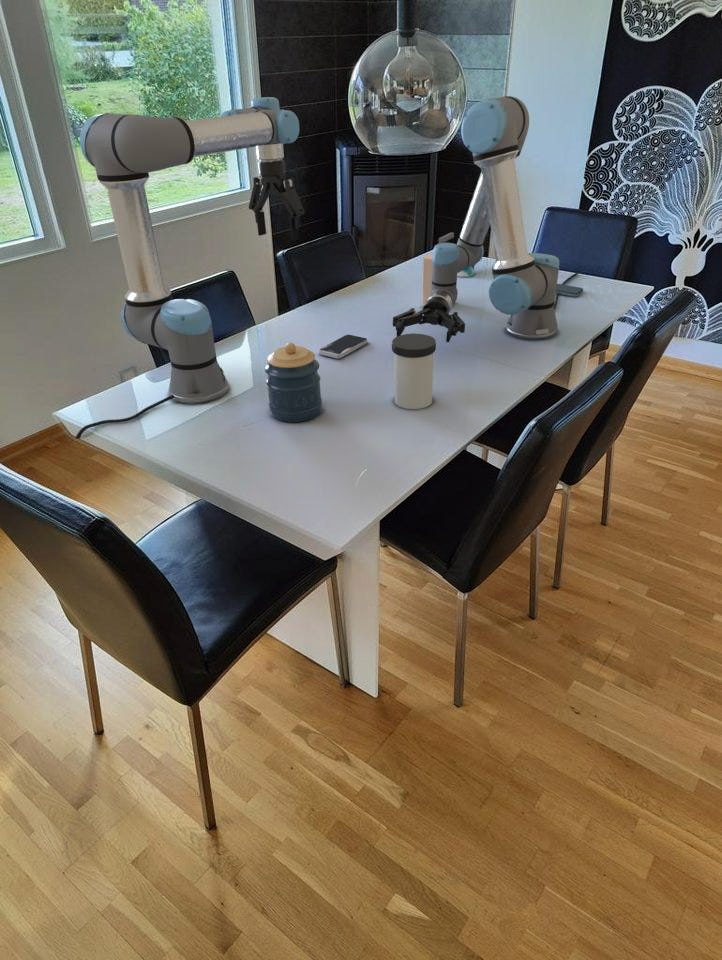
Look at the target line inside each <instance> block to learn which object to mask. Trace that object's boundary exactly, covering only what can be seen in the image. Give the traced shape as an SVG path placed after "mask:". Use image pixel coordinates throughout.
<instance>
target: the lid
mask: <svg viewBox="0 0 722 960" xmlns="http://www.w3.org/2000/svg"><path fill="white" fill-rule="evenodd" d="M436 350H437V341H436V339H435V338H434V337H433V336H431V335H428V334H423V333H405V334H401V335H400V336H397V335H396V337H394V338H393V339H392V340H391V351H392V352H393V354H394V353H395V354H397V355H399V356H402V357H409V358H418V357H425V356H428V355H431V354H432V353H433V354H434V353H435V352H436Z"/></svg>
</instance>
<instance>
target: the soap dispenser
mask: <svg viewBox="0 0 722 960" xmlns="http://www.w3.org/2000/svg"><path fill="white" fill-rule="evenodd" d="M454 238H455V232H449V233H446V234H445V235H443V236H441V237H439V238H438V244H440V243H446V242H448V241H449V240H452V239H454ZM432 257H433V252H432V253H430V254H428V255H426V256H424V257H423V258H422V295H421V296H422V302H421V304H422V307H424V305H425V303H426V302H427V300H428V298H429V297H430V295H431V284H432ZM456 302H457V300H456V301H455V303H454V304H456Z"/></svg>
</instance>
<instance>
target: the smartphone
mask: <svg viewBox="0 0 722 960" xmlns="http://www.w3.org/2000/svg"><path fill="white" fill-rule="evenodd" d="M366 344H368V338H367V337H362V336H357V335H352V334H345V335H343V336H341V337H340V338H337V339H336V340H334V341H332V342H330V343H328V344H326V345H324V346H322V347H321V348H319V349H318V354H319V355H321V356H324V357H329V358H333V359H336V360H337V359H339V360H340V359H342V358H344V357H345V356H347V355H349V354H351V353H353V352H354V351H356V350H357V349H360V348H362V347H363V346H365V345H366Z"/></svg>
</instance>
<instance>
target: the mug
mask: <svg viewBox="0 0 722 960" xmlns="http://www.w3.org/2000/svg"><path fill="white" fill-rule="evenodd" d="M475 266H476V264H475V265H473V266H471V267H469V268H467V269H464V270H463V271H461V272H459V273H457V277H460V278H465V277H466V278H467V277H472V276H474V274H475Z"/></svg>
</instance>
